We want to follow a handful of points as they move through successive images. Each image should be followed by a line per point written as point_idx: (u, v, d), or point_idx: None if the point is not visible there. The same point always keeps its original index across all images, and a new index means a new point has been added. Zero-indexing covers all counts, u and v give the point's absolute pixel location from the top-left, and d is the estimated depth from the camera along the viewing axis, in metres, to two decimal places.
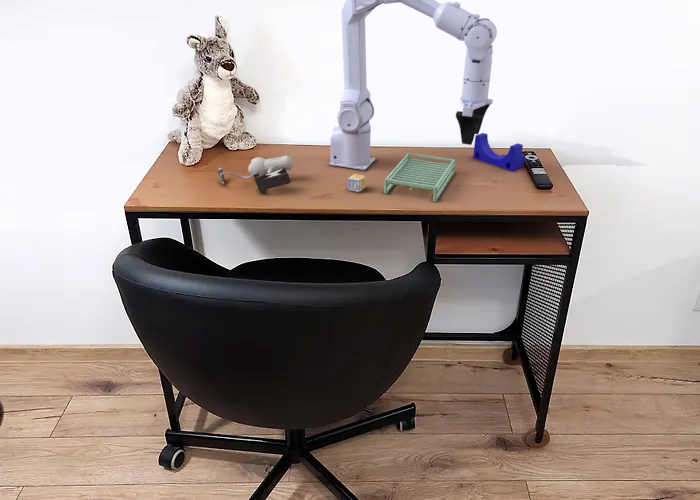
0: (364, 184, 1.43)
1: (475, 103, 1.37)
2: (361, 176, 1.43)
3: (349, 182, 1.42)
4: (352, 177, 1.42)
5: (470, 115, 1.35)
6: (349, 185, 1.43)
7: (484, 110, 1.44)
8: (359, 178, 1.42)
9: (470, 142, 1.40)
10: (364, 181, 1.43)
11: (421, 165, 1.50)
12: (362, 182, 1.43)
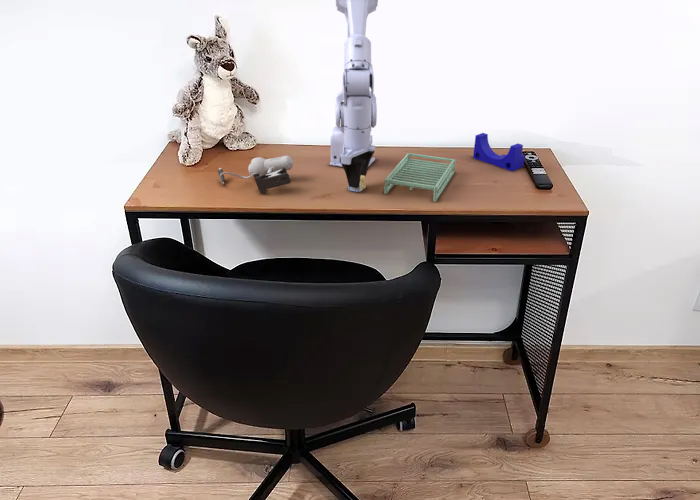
0: (364, 184, 1.43)
1: (356, 150, 1.36)
2: (361, 176, 1.43)
3: None
4: None
5: (348, 163, 1.33)
6: None
7: (367, 158, 1.41)
8: None
9: (356, 185, 1.41)
10: (364, 181, 1.43)
11: (421, 165, 1.50)
12: (362, 182, 1.43)
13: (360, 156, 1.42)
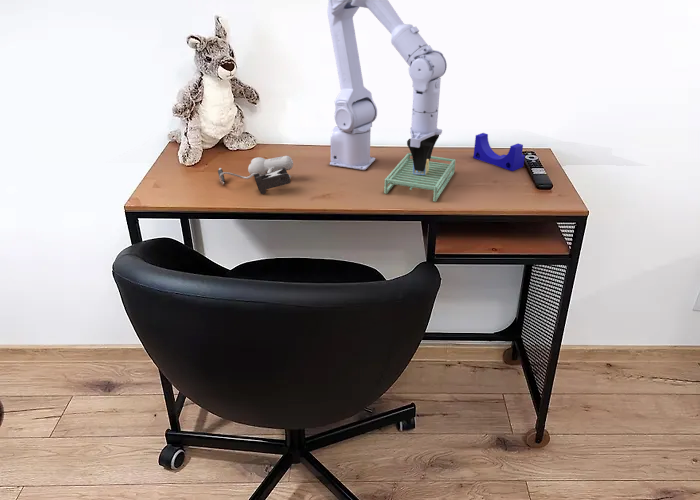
0: (428, 167, 1.46)
1: (424, 134, 1.38)
2: None
3: None
4: None
5: (418, 146, 1.36)
6: (414, 169, 1.45)
7: (433, 142, 1.44)
8: None
9: (422, 169, 1.43)
10: (428, 164, 1.46)
11: None
12: (427, 165, 1.45)
13: (425, 140, 1.44)
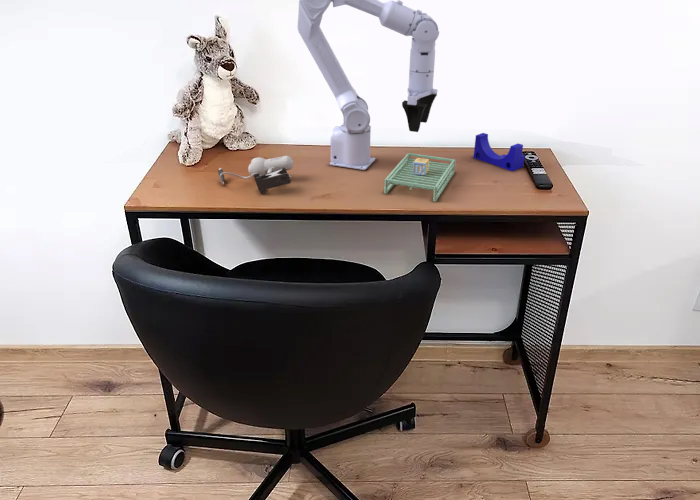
0: (428, 167, 1.46)
1: (420, 93, 1.47)
2: (425, 159, 1.45)
3: (414, 166, 1.44)
4: (417, 161, 1.45)
5: (414, 104, 1.44)
6: (414, 169, 1.45)
7: (431, 100, 1.54)
8: (424, 161, 1.44)
9: (416, 129, 1.50)
10: (428, 164, 1.46)
11: None
12: (427, 165, 1.45)
13: (424, 98, 1.54)
